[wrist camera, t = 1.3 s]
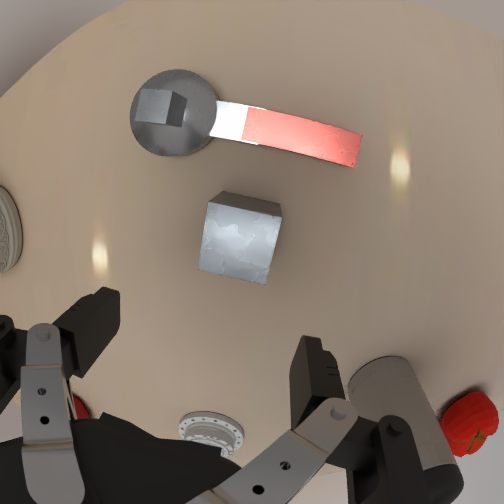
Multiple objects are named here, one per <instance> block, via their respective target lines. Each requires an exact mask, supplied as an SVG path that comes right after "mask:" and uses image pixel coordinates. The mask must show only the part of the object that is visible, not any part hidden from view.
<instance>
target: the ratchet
mask: <svg viewBox="0 0 504 504" xmlns="http://www.w3.org/2000/svg"><path fill="white" fill-rule="evenodd" d="M130 125H131V129H132V132H133V134H134V136H135V138H136V140H137V141H138V142H139V144H140V145H141V146H142V147H143V148H145V149H146V150H148V151H149V152H151V153H154V154H156V155H161V156H180V155H188V154H191V153H194V152H196V151H198V150H200V149H202V148H203V147H204V146H206V145H207V144H208V143H209V142H210V141H211V140H212V139H213V137H218V138H224V139H230V140H235V141H240V142H245V143H250V144H255V145H265V146H270V147H274V148H279V149H283V150H287V151H291V152H296V153H300V154H304V155H308V156H311V157H315V158H319V159H323V160H326V161H330V162H334V163H337V164H341V165H344V166H348V167H352V168H355V165H356V161H357V157H358V152H359V148H360V144H361V139H362V135H360V134H356V133H353V132H350V131H347V130H344V129H340V128H337V127H333V126H330V125H326V124H323V123H319V122H315V121H311V120H308V119H304V118H300V117H295V116H291V115H287V114H283V113H278V112H273V111H269V110H266V109H263V108H258V107H253V106H247V105H242V104H236V103H230V102H223V101H220V100H219V97H218V95H217V94H216V92H215V91H214V90H213V88H212V87H211V86H210V85H209V84H208V83H207V82H206V81H205V80H204V79H203V78H201V77H200V76H198V75H197V74H195V73H193V72H190V71H187V70H180V69H175V70H168V71H164V72H161V73H159V74H157V75H155V76H153V77H152V78H150V79H149V80H148V81H147V82H145V83H144V84H143V85H142V87H141V88H140V89H139V91H138V92H137V94H136V95H135V97H134V100H133V102H132V105H131V110H130Z"/></svg>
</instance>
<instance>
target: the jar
mask: <svg viewBox="0 0 504 504" xmlns="http://www.w3.org/2000/svg"><path fill="white" fill-rule="evenodd" d="M21 248H22V229H21V223H20V218H19V215H18V212H17V209H16V206H15V204H14V202H13V200H12V198H11V197H10V195H9V194H8V193H7V191H6V190H5V189H3V188H2V187H0V274H3V273H5V272H6V271H8V270H9V269H10V268H11V267H12V266H13V265H14V264H15V263H16V262H17V260H18V259H19V256H20V253H21Z"/></svg>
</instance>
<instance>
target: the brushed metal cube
mask: <svg viewBox="0 0 504 504" xmlns="http://www.w3.org/2000/svg"><path fill="white" fill-rule="evenodd" d="M281 220H282V215H281V207H280V204H278V203H274V202H269V201H265V200H260V199H256V198H251V197H247V196H242V195H237V194H233V193H228V192H223V191H222V192H221V193H220V194H218V195H217V196H216V197H214V198H213V199H212V200H211V201H209V203H208V209H207V214H206V220H205V226H204V232H203V238H202V244H201V250H200V256H199V263H198V270H202V271H207V272H211V273H215V274H219V275H224V276H228V277H233V278H237V279H241V280H246V281H250V282H255V283H259V284H264V285H265V284H266V280H267V276H268V272H269V268H270V264H271V260H272V256H273V252H274V248H275V244H276V240H277V236H278V232H279V228H280V224H281Z"/></svg>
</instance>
